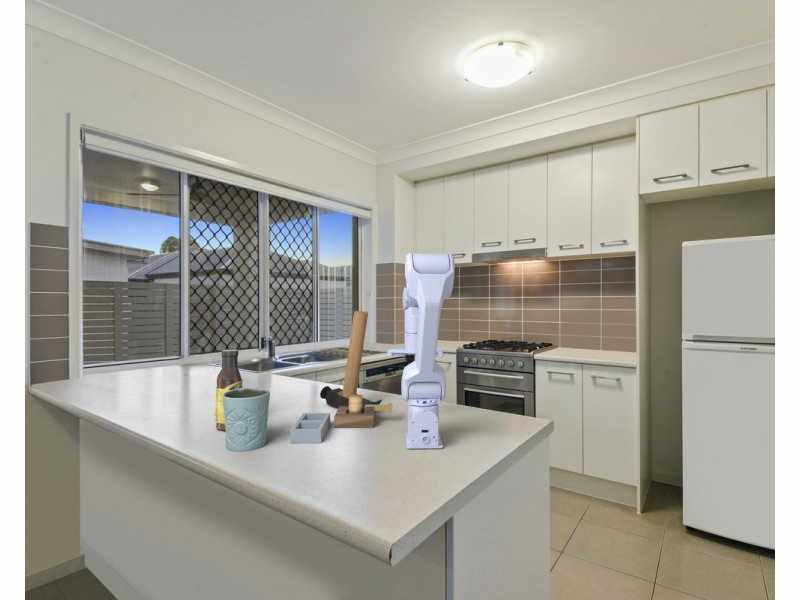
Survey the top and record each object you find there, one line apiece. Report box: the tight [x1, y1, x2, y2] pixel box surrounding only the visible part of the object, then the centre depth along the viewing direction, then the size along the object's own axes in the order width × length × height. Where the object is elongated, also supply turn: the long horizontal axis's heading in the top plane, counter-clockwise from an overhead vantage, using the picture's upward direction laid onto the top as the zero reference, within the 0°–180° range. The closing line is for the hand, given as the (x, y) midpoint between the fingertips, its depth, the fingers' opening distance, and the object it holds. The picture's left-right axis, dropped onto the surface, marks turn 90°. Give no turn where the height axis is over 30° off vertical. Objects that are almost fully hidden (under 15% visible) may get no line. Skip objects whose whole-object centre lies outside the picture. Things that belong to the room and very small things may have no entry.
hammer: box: [319, 310, 383, 409], centre depth 124 cm, size 20×5×30 cm, turn 56°
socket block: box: [333, 404, 376, 429], centre depth 111 cm, size 10×10×4 cm
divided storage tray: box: [289, 412, 331, 444], centre depth 102 cm, size 14×7×3 cm, turn 1°
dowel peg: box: [349, 394, 363, 413], centre depth 111 cm, size 4×4×7 cm
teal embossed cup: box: [222, 387, 271, 453], centre depth 94 cm, size 10×10×12 cm
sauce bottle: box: [215, 349, 243, 431], centre depth 107 cm, size 7×6×20 cm
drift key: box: [365, 402, 393, 414], centre depth 111 cm, size 3×7×2 cm, turn 91°
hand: (415, 383), depth 112 cm, fingers closed
